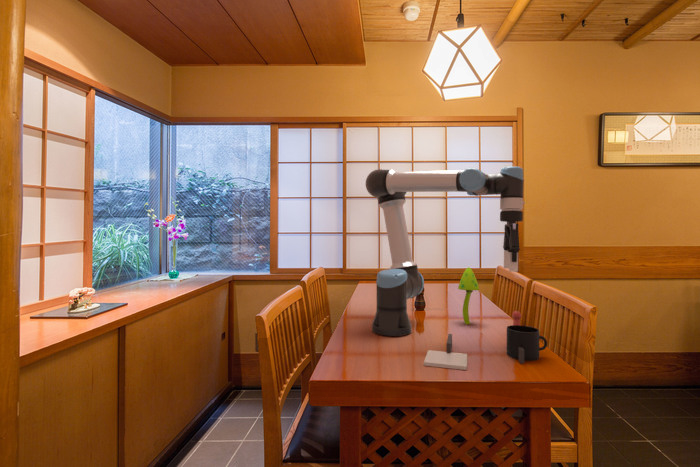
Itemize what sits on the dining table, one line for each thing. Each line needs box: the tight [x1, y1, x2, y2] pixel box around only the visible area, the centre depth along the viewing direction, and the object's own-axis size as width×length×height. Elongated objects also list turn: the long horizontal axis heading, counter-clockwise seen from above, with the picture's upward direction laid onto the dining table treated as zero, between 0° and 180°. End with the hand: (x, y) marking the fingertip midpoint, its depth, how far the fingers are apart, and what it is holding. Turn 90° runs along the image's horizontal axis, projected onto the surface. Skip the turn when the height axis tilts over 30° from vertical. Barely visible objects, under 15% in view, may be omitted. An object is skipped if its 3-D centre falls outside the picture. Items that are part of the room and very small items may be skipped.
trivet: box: [423, 349, 468, 371], centre depth 113 cm, size 12×12×1 cm
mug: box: [506, 324, 548, 362], centre depth 118 cm, size 9×12×9 cm
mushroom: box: [457, 266, 480, 325], centre depth 155 cm, size 8×8×25 cm
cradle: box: [446, 310, 525, 365], centre depth 121 cm, size 23×15×13 cm, turn 72°
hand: (510, 269), depth 134 cm, fingers open, 13 cm apart
